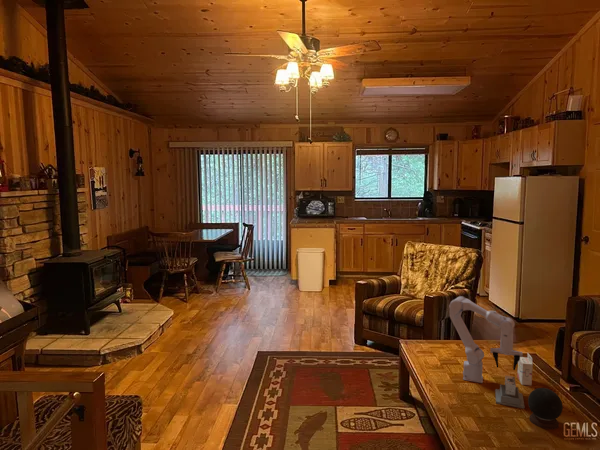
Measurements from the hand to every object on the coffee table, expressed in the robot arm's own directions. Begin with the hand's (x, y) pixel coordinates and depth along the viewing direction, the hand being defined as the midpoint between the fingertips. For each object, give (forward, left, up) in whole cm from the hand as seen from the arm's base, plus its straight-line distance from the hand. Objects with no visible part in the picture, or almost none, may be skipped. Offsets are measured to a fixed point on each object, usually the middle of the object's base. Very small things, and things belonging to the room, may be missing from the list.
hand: (505, 368), depth 216 cm
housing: (+2, -12, -6) cm, 14 cm away
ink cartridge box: (+10, +11, -11) cm, 18 cm away
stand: (+2, -12, -10) cm, 16 cm away
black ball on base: (+15, -27, -11) cm, 32 cm away
